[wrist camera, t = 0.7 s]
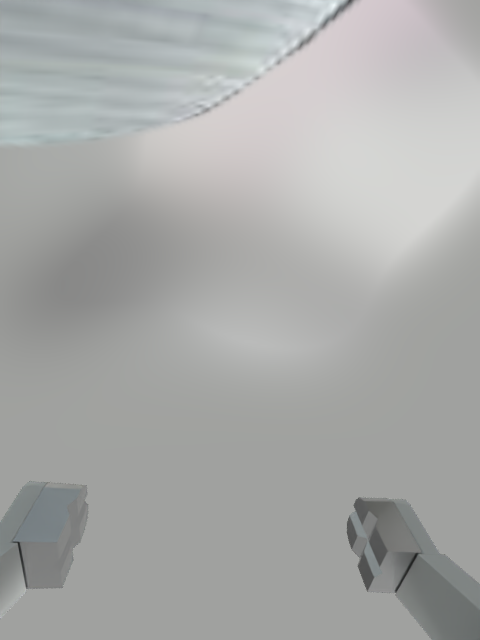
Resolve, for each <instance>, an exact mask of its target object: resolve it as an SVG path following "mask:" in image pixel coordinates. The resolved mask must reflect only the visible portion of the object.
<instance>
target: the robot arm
mask: <svg viewBox="0 0 480 640" xmlns="http://www.w3.org/2000/svg"><path fill="white" fill-rule="evenodd" d="M86 496H87V486H86V485H76V484H63V483H50V482H32V481H29V482H28V483H27V484H26V485H25V486H24V487H23V488H22V489H21V491H20V493H19V494H18V495H17V497H16V499H15V500H14V502H13V503H12V505H11V506H10V508H9V510H8V511H7V512H6V514H5V516H4V517H3V519H2V520H1V522H0V619H1V618H2V617H3V615H4V614H5V613H6V612H7V611H8V610H9V609H10V608H11V607H12V606H13V605H14V604H15V603H16V602H17V601H18V600H19V599H20V597H22V595H23V594H24V593H25V592H26V589H35V588H36V589H38V588H39V589H40V588H63V585H64V582H65V580H66V577H67V575H68V572H69V570H70V567H71V565H72V562H73V548H74V547H75V546H76V545H78V543H80V541H81V539H82V536H83V533H84V530H85V526H86V522H87V518H88V504H87V503H86V502H85V498H86ZM354 508H355V510H356V511H355V512H353V513H352V514H351V515H350V516H349V518H348V521H347V535H348V539H349V543H350V546H351V549H352V550H353V551H354V553H355V554H357V556H358V557H359V563H358V568H359V571H360V574H361V576H362V579H363V582H364V584H365V587H366V589H367V592H382V593H396V594H395V595H396V597H397V598H398V599H399V600H400V602H401V603H402V604H403V605H404V606H405V608H406V609H407V610H408V611H409V612H410V614H411V615H412V616H413V617H414V619H415V620H416V621H417V622H418V623H419V625H420V626H421V627H422V628H423V630H424V631H425V632H426V633H427V634H428V636H429V637H430V638H431V639H432V640H480V584H479V583H478V582H477V581H476V580H474V579H473V578H472V577H471V576H470V575H468V574H467V573H466V572H465V571H464V570H463V569H461V568H460V567H459V566H458V565H457V564H455V563H454V562H453V561H452V560H451V559H450V558H448V557H447V556H446V555H445V554H440V553H439V552H438V550H437V548H436V546H435V545H434V543H433V542H432V540H431V538H430V536H429V535H428V533H427V532H426V530H425V528H424V527H423V525H422V523H421V522H420V520H419V518H418V517H417V515H416V514H415V512H414V510H413V508H412V507H411V505H410V504H409V503H408V502H407V501H406V500H403V499H387V498H358V499H356V501H355V503H354Z"/></svg>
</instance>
